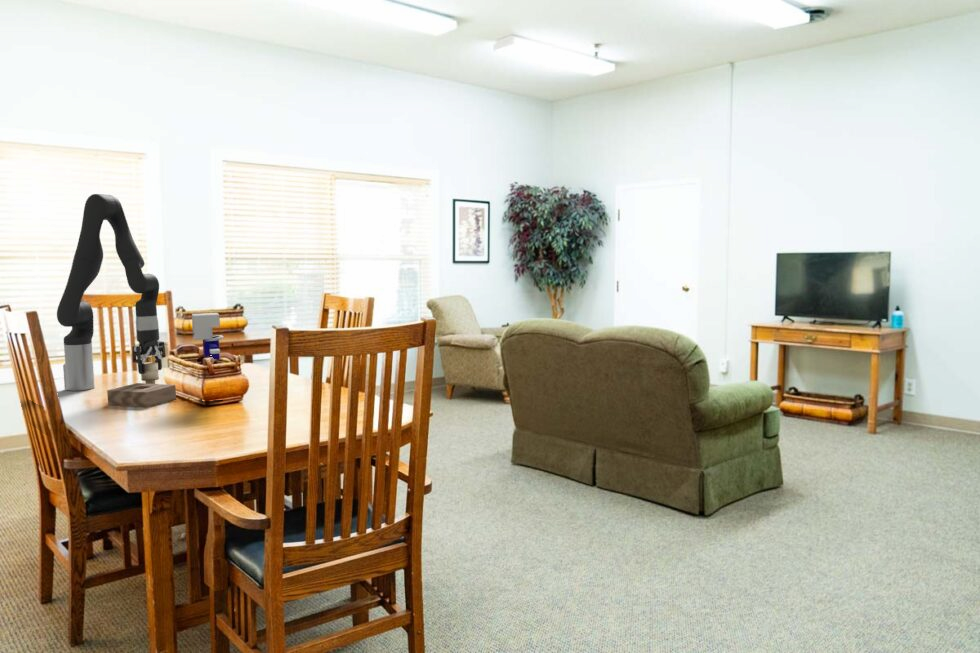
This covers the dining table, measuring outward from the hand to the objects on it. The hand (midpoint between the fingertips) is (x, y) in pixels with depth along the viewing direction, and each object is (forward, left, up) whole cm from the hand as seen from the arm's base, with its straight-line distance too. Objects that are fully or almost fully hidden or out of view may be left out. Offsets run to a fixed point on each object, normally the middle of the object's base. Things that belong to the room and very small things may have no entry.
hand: (150, 371), depth 274 cm
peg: (0, 0, -7) cm, 7 cm away
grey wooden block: (+11, -17, -7) cm, 21 cm away
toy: (+32, -8, -8) cm, 33 cm away
